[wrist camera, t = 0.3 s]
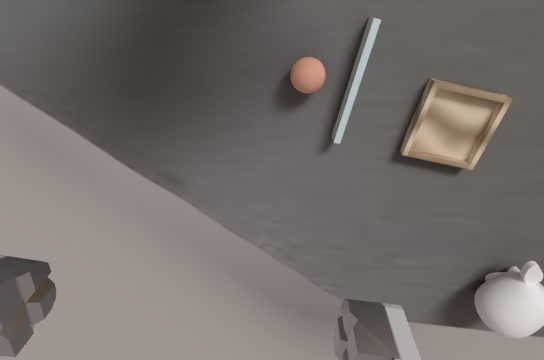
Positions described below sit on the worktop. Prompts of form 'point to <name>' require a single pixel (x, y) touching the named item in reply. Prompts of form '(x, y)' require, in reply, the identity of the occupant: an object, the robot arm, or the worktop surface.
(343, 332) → the robot arm
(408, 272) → the worktop surface
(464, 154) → the birch tray
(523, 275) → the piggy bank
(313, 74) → the coral ball
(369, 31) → the aqua wall
